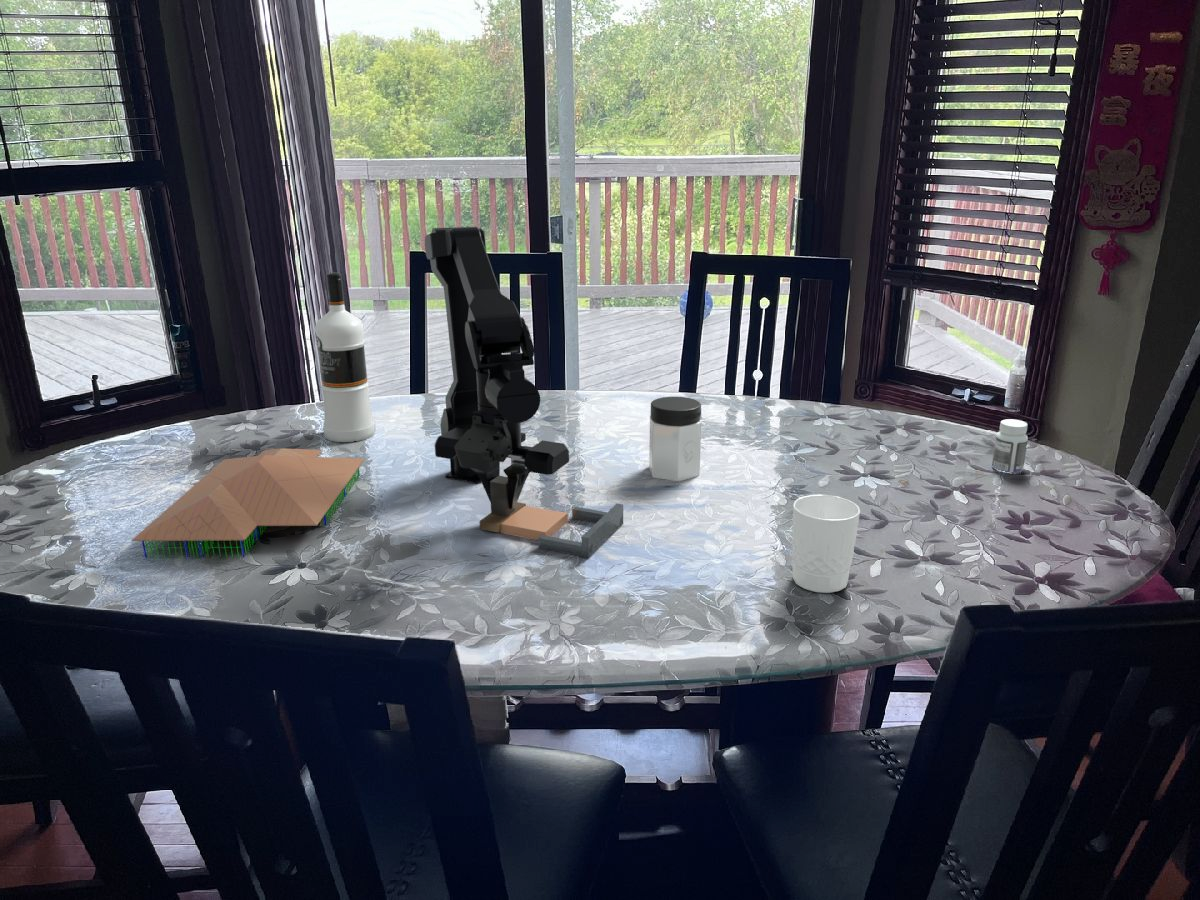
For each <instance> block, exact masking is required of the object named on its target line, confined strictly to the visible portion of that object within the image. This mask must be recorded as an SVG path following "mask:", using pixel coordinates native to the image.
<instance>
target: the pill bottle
mask: <svg viewBox="0 0 1200 900" xmlns="http://www.w3.org/2000/svg"><path fill="white" fill-rule="evenodd" d="M1027 431H1028V423H1027V422H1026V421H1023V420H1021V419H1012V418H1011V419H1010V418H1009V419H1003V420H1001V421H1000V424H999V431H998V432H997V433H996V435H995V442H994V447H993V454H992V461H991V462H992V463H991V467H992V466H993V467H994V468H996V469H998V470H1001V471H1005V472H1019V471H1022V470H1023V471H1024V467H1025V466H1024V465H1025V460H1026V453H1027V447H1028V442H1029V438H1028V435H1027Z"/></svg>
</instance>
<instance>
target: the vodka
mask: <svg viewBox="0 0 1200 900" xmlns="http://www.w3.org/2000/svg"><path fill="white" fill-rule="evenodd" d="M325 277H326V285H327V294H328V295H327V296H328V304H329V305H328V306H329V310H328V312H327V313H325V314H324V315H323V316H322V317H320V318H319V319H318V320H317V321H316V322H315V327H314V333H315V335H316V344H317V353H318V354H317V355H318V361H319V369H320V379H321V380H320V381H321V386H320V388H321V391H322V397H323V408H324V409H323V410H324V413H323V415H324V416H323V417H324V418H323V419H324V420H323V422H324V423H323V425H322V426H323V427H322V429H323V430H322V431H323V436H324V438H325V439H326V438H327V439H326V440H328V441H330V442H333V441H335V442H334V443H339V442H349V443H355V442H354V441H357V442H361V440H362V441H365V440H367V438H368V439H370V438H371V437H373V436H374V435H375V434H376V430H377V429H376V421H375V419H374V416H373V411H372V408H371V407H372V406H371V402H370V400H371V399H370V391H369V386H370V383H369V381H368V375H367V364H366V355H365V354H366V353H365V344H366V341H365V339H364V338H365V333H364V332H365V329H364V325H363V321H361V319H360V318H359V317H357V316H356V315H354V314H352V313H351V312H349V311H347V310H346V306H345V297H344V287H343V279H342V278H343V276H342V273H340V272H337V271H336V272H333V271H332V272H329V273H326V274H325ZM364 439H365V440H364Z"/></svg>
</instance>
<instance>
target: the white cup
mask: <svg viewBox="0 0 1200 900" xmlns="http://www.w3.org/2000/svg"><path fill="white" fill-rule="evenodd" d="M860 513H861V508H860V507H859V505H858V504H856V503H855V502H853V501H851V500H849V499H847V498H843V497H841V496H836V495H830V494H810V495H804V496H800V497H799V498H797V499H795V500H794V501H793V505H792V532H791V533H792V535H791V537H792V539H791V541H792V543H791V544H792V548H791V550H792V552H791V555H792V572H791V573H792V579H793V581H794V583H795V584H796V585H797V586H799V587H801V588H803V589H804V590H807V591H811V592H815V593H823V594H825V593H826V594H830V593H835V592H839V591H842V590H844V589H845V588H847V586H848V582H849V575H850V570H851V566H852V564H853V557H854V552H855V547H856V542H857V534H858V528H859V520H860V515H861V514H860Z"/></svg>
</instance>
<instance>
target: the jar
mask: <svg viewBox="0 0 1200 900" xmlns="http://www.w3.org/2000/svg"><path fill="white" fill-rule="evenodd" d="M701 417H702V404H701V402H700V401H698V400H697V399H694V398H690V397H684V396H663V397H658V398H656V399H653V400H652V401H651V402H650V415H649V445H648V447H649V451H648V454H649V455H648V456H649V457H648V468H649V471H650V474H651V477H652V478H656V479H662V480H668V481H672V482H681V481H684V480H685V481H686V480H688V479H693V478H696V477H699V476H700V473H701V471H700V470H701V448H702V446H701V445H702V442H701V441H702V424H703V423H702V421H701Z"/></svg>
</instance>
